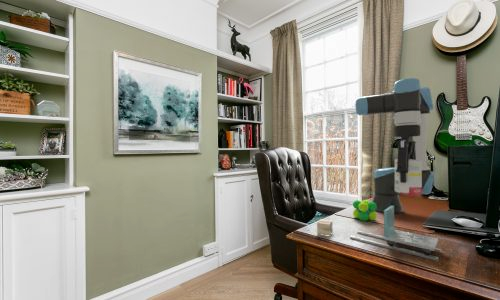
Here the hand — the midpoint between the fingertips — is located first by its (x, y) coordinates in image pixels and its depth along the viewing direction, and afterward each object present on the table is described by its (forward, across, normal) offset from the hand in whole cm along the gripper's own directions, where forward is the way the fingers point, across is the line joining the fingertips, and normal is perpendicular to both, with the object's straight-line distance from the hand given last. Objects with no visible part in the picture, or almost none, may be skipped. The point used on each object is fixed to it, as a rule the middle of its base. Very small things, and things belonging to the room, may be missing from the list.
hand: (407, 190), depth 81 cm
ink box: (+1, 0, 0) cm, 1 cm away
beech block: (+21, +6, -28) cm, 35 cm away
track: (+20, 0, -5) cm, 21 cm away
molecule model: (+21, -26, -23) cm, 40 cm away
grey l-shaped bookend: (+20, 0, +1) cm, 20 cm away
